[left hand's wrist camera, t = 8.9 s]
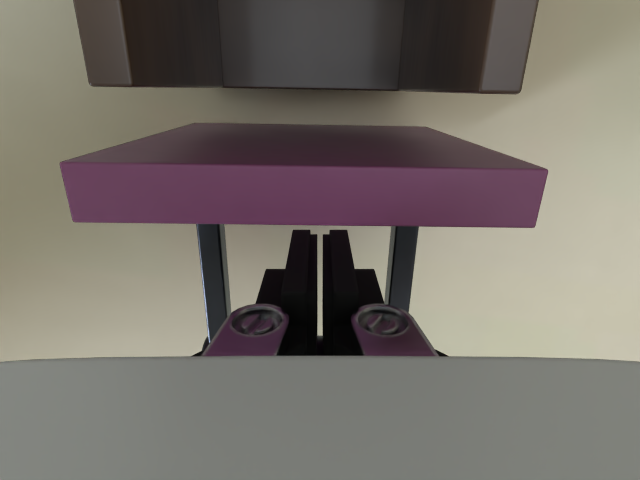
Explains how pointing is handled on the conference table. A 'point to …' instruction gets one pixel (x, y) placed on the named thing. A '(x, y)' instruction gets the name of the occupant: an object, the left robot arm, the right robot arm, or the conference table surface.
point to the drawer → (305, 140)
